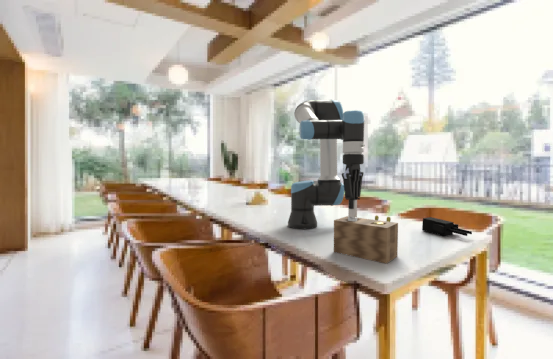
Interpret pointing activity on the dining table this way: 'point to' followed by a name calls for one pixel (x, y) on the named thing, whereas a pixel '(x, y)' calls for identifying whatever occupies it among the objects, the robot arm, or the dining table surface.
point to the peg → (352, 219)
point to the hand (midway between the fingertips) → (352, 217)
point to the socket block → (366, 239)
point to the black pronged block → (442, 227)
